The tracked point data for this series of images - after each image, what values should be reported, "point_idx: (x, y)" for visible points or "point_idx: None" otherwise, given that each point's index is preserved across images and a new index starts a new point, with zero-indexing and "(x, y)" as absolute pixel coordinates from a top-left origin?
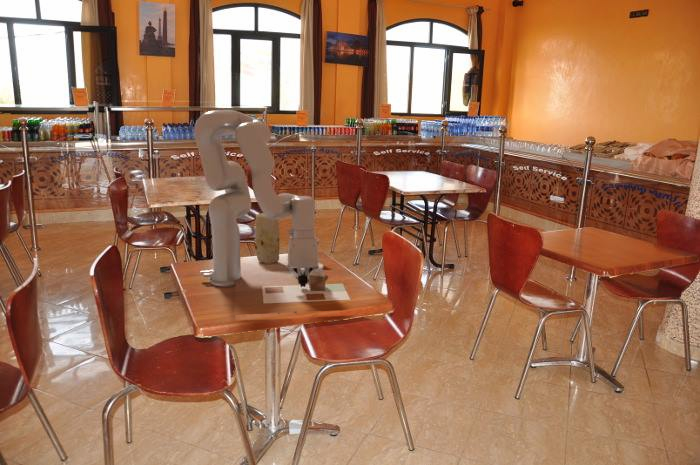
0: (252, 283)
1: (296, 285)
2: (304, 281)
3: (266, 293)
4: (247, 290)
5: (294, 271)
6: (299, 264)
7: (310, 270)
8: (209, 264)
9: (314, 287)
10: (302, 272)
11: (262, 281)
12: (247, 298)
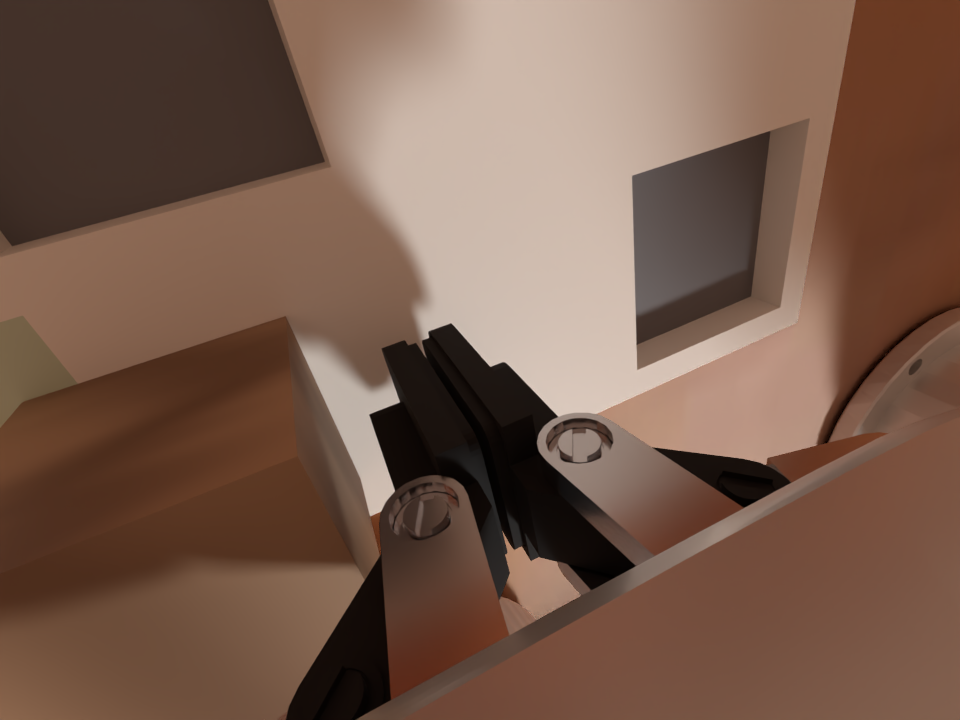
0: (791, 427)
1: None
2: (420, 381)
3: (804, 113)
4: (848, 284)
5: None
6: (942, 614)
7: (350, 653)
8: None
9: (213, 362)
10: None
11: None
12: (899, 73)
